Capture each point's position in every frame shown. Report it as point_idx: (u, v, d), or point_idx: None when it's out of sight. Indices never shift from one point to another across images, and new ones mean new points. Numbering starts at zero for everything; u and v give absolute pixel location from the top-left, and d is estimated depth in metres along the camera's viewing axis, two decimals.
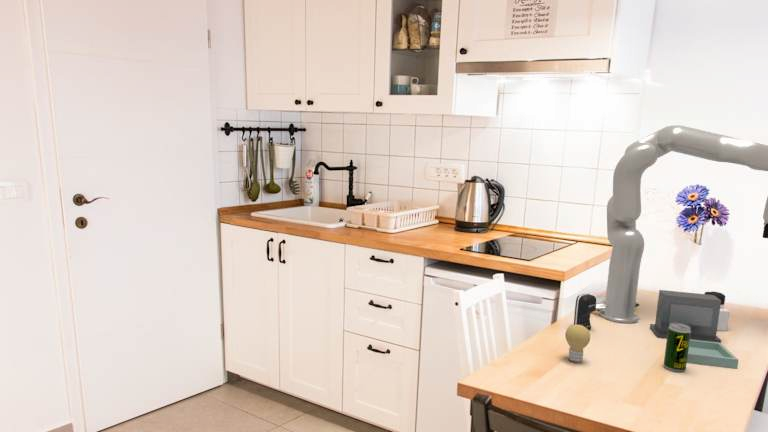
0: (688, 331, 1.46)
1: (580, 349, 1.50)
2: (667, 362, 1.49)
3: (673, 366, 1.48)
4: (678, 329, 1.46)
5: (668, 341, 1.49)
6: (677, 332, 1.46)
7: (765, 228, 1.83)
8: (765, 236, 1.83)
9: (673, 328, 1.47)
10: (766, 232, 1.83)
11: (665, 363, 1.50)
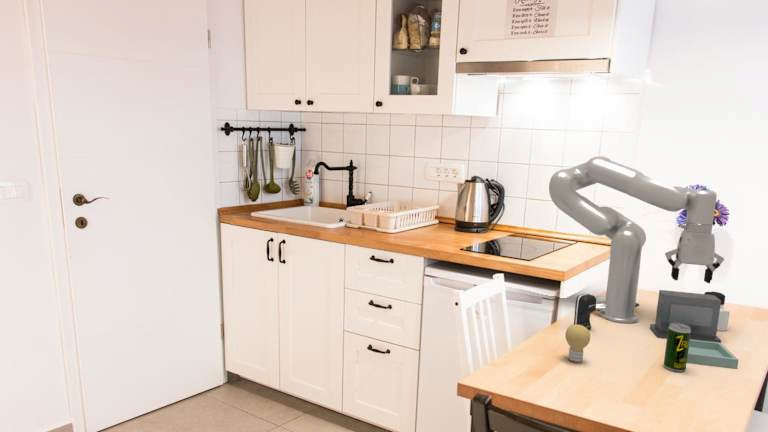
0: (688, 331, 1.46)
1: (580, 349, 1.50)
2: (667, 362, 1.49)
3: (673, 366, 1.48)
4: (678, 329, 1.46)
5: (668, 341, 1.49)
6: (677, 332, 1.46)
7: (678, 270, 1.78)
8: None
9: (673, 328, 1.47)
10: None
11: (665, 363, 1.50)
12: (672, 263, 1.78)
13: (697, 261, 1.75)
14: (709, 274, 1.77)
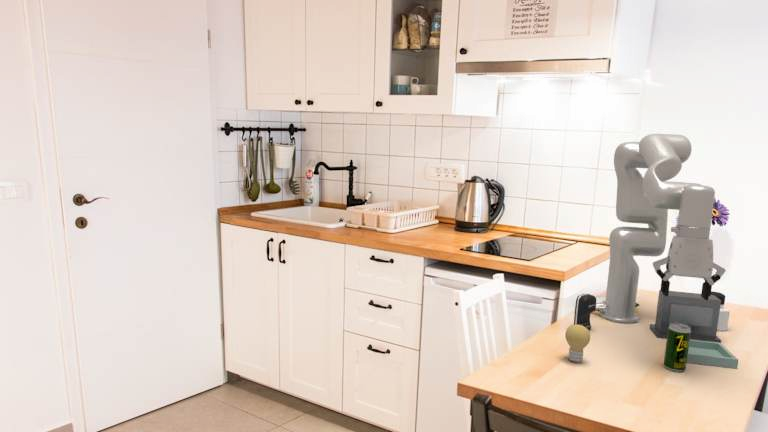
0: (688, 331, 1.46)
1: (580, 349, 1.50)
2: (667, 362, 1.49)
3: (673, 366, 1.48)
4: (678, 329, 1.46)
5: (668, 341, 1.49)
6: (677, 332, 1.46)
7: (669, 284, 1.46)
8: None
9: (673, 328, 1.47)
10: None
11: (665, 363, 1.50)
12: (661, 275, 1.46)
13: (691, 273, 1.43)
14: (707, 289, 1.44)
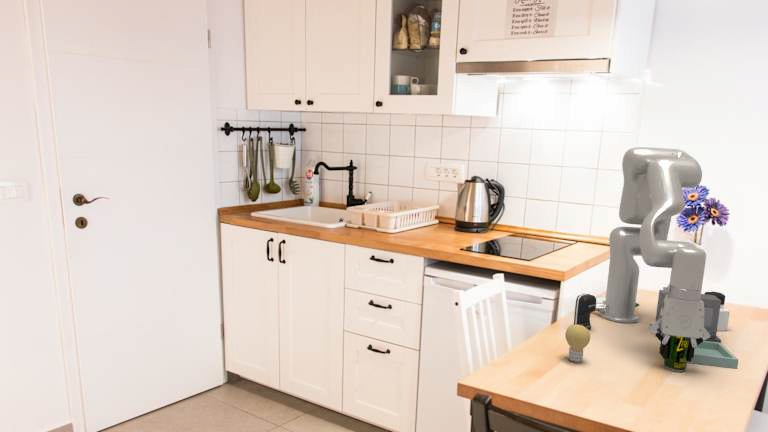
0: None
1: (580, 349, 1.50)
2: (667, 362, 1.49)
3: (673, 366, 1.48)
4: None
5: (668, 341, 1.49)
6: None
7: (667, 347, 1.48)
8: None
9: None
10: None
11: (665, 363, 1.50)
12: (660, 338, 1.49)
13: (683, 333, 1.46)
14: (690, 351, 1.47)
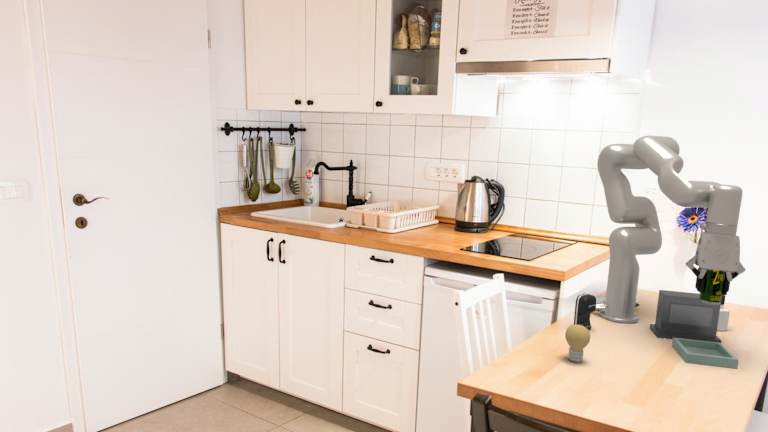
0: None
1: (580, 349, 1.50)
2: (703, 295, 1.56)
3: (709, 299, 1.55)
4: None
5: (704, 275, 1.56)
6: None
7: (704, 281, 1.55)
8: None
9: None
10: None
11: (701, 297, 1.57)
12: (696, 273, 1.56)
13: (719, 267, 1.53)
14: (725, 285, 1.54)
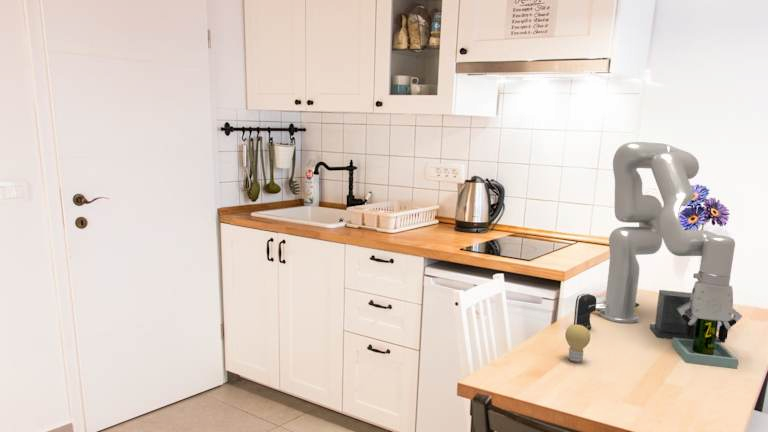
0: None
1: (580, 349, 1.50)
2: (696, 348, 1.58)
3: (702, 351, 1.57)
4: None
5: (697, 328, 1.58)
6: None
7: (693, 328, 1.58)
8: None
9: None
10: None
11: (694, 349, 1.59)
12: (686, 319, 1.58)
13: (712, 316, 1.55)
14: (724, 332, 1.56)
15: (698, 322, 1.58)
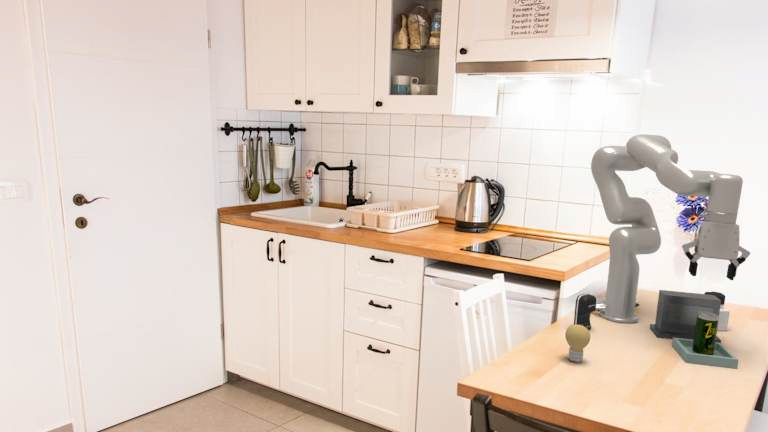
0: (716, 319, 1.56)
1: (580, 349, 1.50)
2: (696, 348, 1.58)
3: (702, 352, 1.57)
4: (707, 317, 1.56)
5: (697, 328, 1.58)
6: (706, 320, 1.56)
7: (697, 265, 1.58)
8: None
9: (702, 316, 1.57)
10: None
11: (694, 350, 1.59)
12: (690, 257, 1.59)
13: (718, 255, 1.55)
14: (732, 270, 1.56)
15: (698, 322, 1.58)
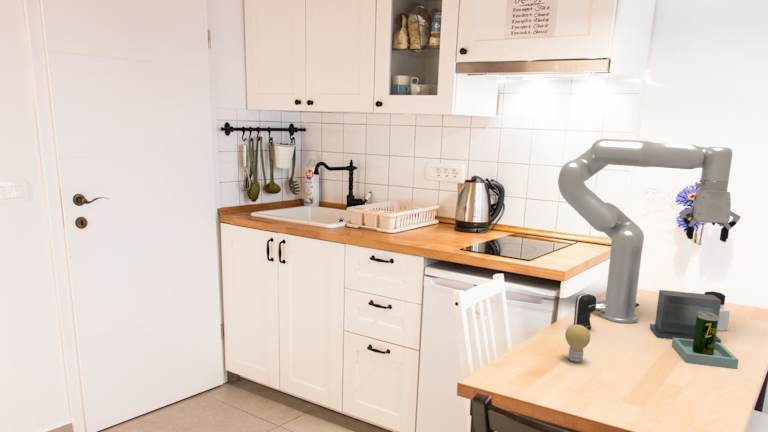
0: (716, 319, 1.56)
1: (580, 349, 1.50)
2: (696, 348, 1.58)
3: (702, 352, 1.57)
4: (707, 317, 1.56)
5: (697, 328, 1.58)
6: (706, 319, 1.56)
7: (693, 229, 1.76)
8: None
9: (702, 316, 1.57)
10: None
11: (694, 350, 1.59)
12: (687, 222, 1.77)
13: (712, 219, 1.74)
14: (725, 232, 1.75)
15: (698, 322, 1.58)
